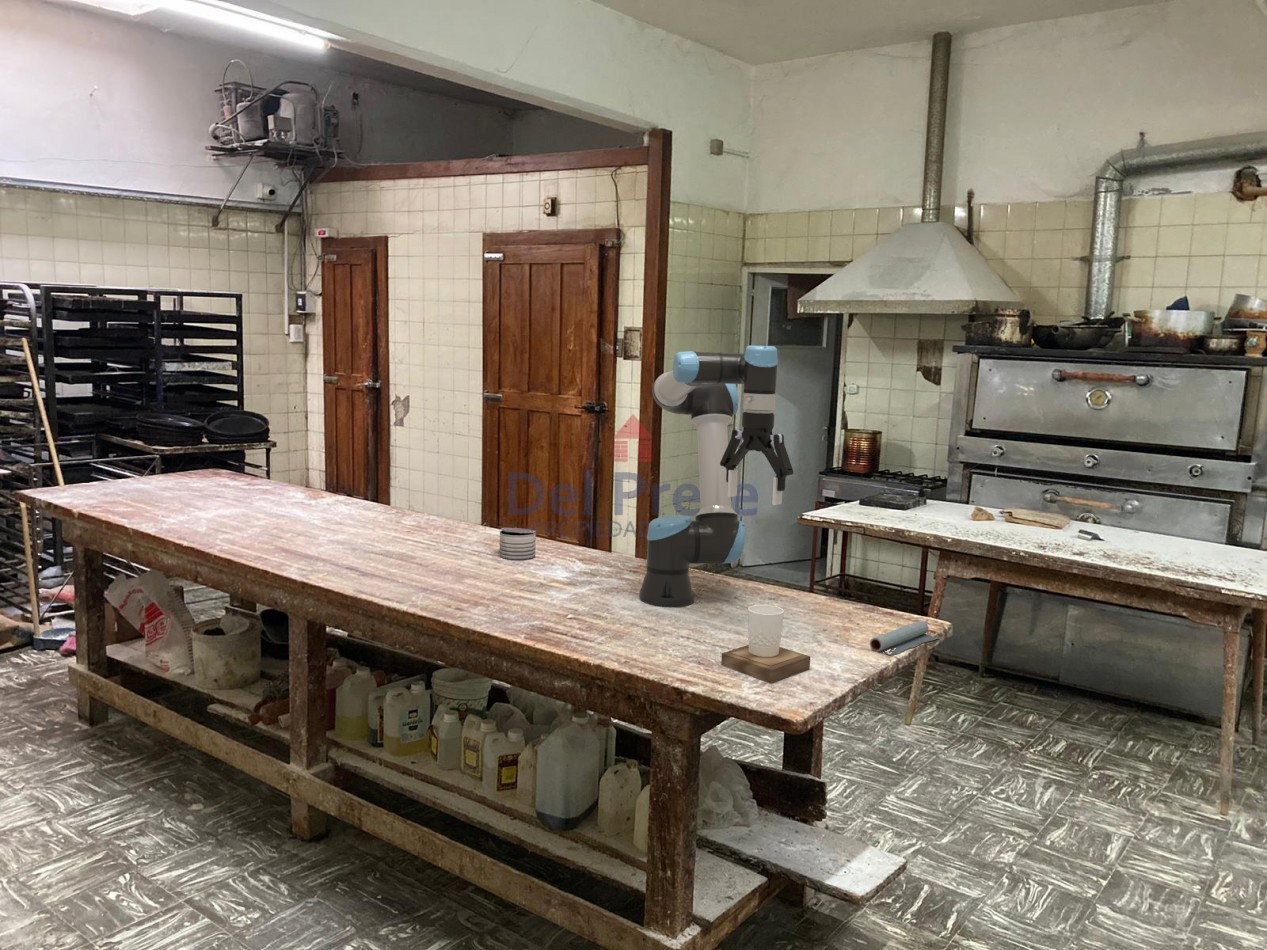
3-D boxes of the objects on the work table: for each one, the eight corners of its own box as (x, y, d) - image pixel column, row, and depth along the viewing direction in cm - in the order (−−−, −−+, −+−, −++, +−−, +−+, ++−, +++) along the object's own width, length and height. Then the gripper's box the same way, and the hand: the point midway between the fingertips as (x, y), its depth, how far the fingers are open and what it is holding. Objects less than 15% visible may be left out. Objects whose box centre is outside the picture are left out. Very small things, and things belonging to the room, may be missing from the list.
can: (492, 564, 299) (492, 527, 297) (521, 560, 307) (521, 523, 305) (513, 571, 291) (513, 533, 289) (542, 566, 298) (543, 529, 297)
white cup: (742, 655, 209) (744, 611, 208) (750, 645, 217) (753, 602, 215) (777, 660, 207) (779, 616, 205) (784, 650, 214) (787, 607, 212)
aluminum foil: (916, 631, 243) (917, 619, 243) (940, 638, 238) (941, 625, 238) (868, 649, 227) (869, 636, 227) (893, 656, 223) (894, 643, 222)
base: (721, 666, 211) (721, 652, 211) (760, 653, 221) (760, 640, 220) (771, 683, 201) (771, 669, 201) (809, 669, 211) (810, 655, 210)
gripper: (708, 408, 228) (704, 494, 231) (792, 416, 211) (786, 509, 214) (728, 407, 234) (724, 491, 237) (811, 415, 216) (806, 506, 219)
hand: (754, 500), depth 225 cm, fingers open, 13 cm apart
